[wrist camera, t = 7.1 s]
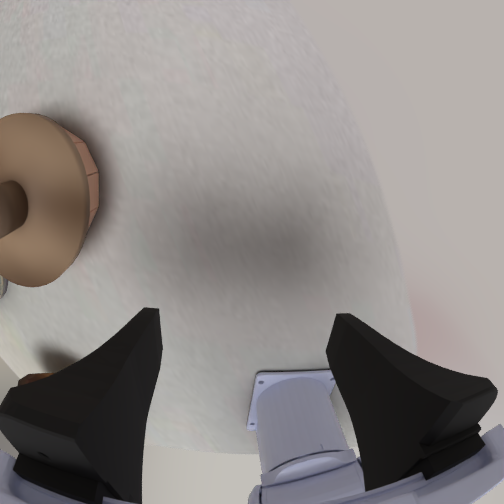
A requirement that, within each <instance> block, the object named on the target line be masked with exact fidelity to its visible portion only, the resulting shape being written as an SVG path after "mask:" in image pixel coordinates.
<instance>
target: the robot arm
mask: <svg viewBox="0 0 504 504" xmlns="http://www.w3.org/2000/svg"><path fill="white" fill-rule="evenodd" d="M162 350H163V346H162V336H161V326H160V314H159V309H158V308H145V307H144V308H143V309H142V310H141V311H140V312H139V313H138V314H137V315H135V316H134V317H133V318H132V319H131V320H130V321H129V322H128V323H127V324H126V325H125V326H124V327H123V328H122V329H121V330H119V331H118V332H117V333H116V334H115V335H114V336H113V337H112V338H110V339H109V340H108V341H107V342H105V343H104V344H103V345H102V346H100V347H99V348H98V349H96V350H95V351H94V352H92V353H91V354H89V355H88V356H86V357H84V358H83V359H81V360H80V361H78V362H76V363H74V364H72V365H71V366H69V367H67V368H65V369H63V370H61V371H59V372H57V373H55V374H52V375H50V376H48V377H45V378H42V379H40V380H37V381H34V382H31V383H27V384H24V385H20V386H17V387H12V388H10V390H9V391H8V393H7V395H6V397H5V398H4V400H3V402H2V403H1V405H0V430H1V432H2V433H3V434H4V435H5V437H6V438H7V439H8V440H9V441H10V443H11V444H12V445H13V446H14V447H15V449H16V450H17V451H18V452H19V455H18V457H17V459H15V458H14V457H13V456H11V455H10V454H8V453H6V452H4V451H3V450H1V449H0V504H142V465H143V450H144V439H145V430H146V422H147V417H148V412H149V408H150V404H151V400H152V397H153V393H154V389H155V385H156V382H157V378H158V374H159V370H160V365H161V358H162ZM326 354H327V358H328V362H329V366H330V369H331V370H321V371H302V372H261V373H258V374H257V375H256V378H255V384H254V389H253V394H252V400H251V405H250V410H249V416H248V421H247V426H246V427H247V430H249V431H256V434H257V441H258V449H259V456H260V462H261V469H262V473H263V474H261V481H262V485H256V486H255V487H254V488H253V490H252V492H251V493H250V495H249V498H248V504H472V503H474V502H475V501H477V500H478V499H480V498H481V497H482V496H484V495H485V494H486V493H487V492H489V491H490V490H492V489H493V488H494V487H495V486H497V485H498V484H499V483H500V482H502V481H503V480H504V428H503V427H502V425H501V424H499V425H497V426H496V427H494V428H493V429H491V430H489V431H488V432H486V433H485V434H484V435H483V436H482V437H480V436H479V434H478V432H479V431H480V430H481V427H480V425H479V424H478V422H479V421H480V420H481V419H482V417H483V416H484V415H485V414H486V412H487V411H488V410H489V409H490V407H491V406H492V404H493V403H494V401H495V399H496V397H497V393H498V390H497V388H496V387H495V386H494V385H493V384H492V382H491V381H490V380H489V379H488V378H483V377H478V376H472V375H467V374H463V373H459V372H456V371H452V370H449V369H446V368H443V367H441V366H438V365H435V364H433V363H430V362H428V361H426V360H424V359H422V358H420V357H418V356H416V355H414V354H412V353H410V352H408V351H406V350H405V349H403V348H401V347H400V346H398V345H396V344H395V343H393V342H392V341H390V340H389V339H387V338H386V337H384V336H383V335H381V334H380V333H378V332H377V331H375V330H374V329H373V328H371V327H370V326H368V325H367V324H365V323H364V322H362V321H361V320H360V319H358V318H356V317H355V316H353V315H352V314H350V313H342V314H336V317H335V321H334V325H333V328H332V332H331V335H330V338H329V342H328V345H327V348H326ZM335 383H336V384H337V386H338V388H339V391H340V393H341V395H342V398H343V400H344V402H345V404H346V407H347V409H348V412H349V414H350V417H351V420H352V424H353V428H354V431H355V435H356V439H357V443H358V448H359V452H360V457H358V458H356V455H355V453H354V450H353V449H349V447H348V444H347V441H346V439H345V436H344V434H343V431H342V428H341V426H340V423H339V420H338V418H337V415H336V413H335V410H334V407H333V405H332V402H331V400H330V397H329V396H330V394H331V392H332V390H333V387H334V385H335Z"/></svg>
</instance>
